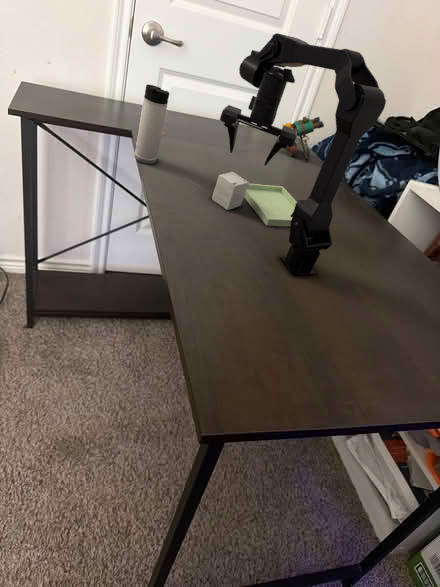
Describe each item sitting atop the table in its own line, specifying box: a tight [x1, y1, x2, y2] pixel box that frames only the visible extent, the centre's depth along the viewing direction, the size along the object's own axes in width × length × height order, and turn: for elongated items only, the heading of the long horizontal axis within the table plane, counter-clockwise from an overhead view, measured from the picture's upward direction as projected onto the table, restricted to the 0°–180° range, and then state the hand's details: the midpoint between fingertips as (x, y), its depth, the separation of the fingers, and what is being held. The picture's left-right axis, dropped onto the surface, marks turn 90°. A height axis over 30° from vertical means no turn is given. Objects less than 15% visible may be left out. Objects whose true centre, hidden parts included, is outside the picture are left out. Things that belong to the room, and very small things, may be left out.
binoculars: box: [283, 116, 325, 160], centre depth 160 cm, size 14×14×15 cm
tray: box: [243, 183, 297, 227], centre depth 121 cm, size 19×15×2 cm
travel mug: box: [133, 83, 170, 165], centre depth 116 cm, size 6×7×20 cm
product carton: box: [211, 171, 250, 211], centre depth 114 cm, size 6×6×7 cm
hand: (248, 158), depth 109 cm, fingers open, 9 cm apart
